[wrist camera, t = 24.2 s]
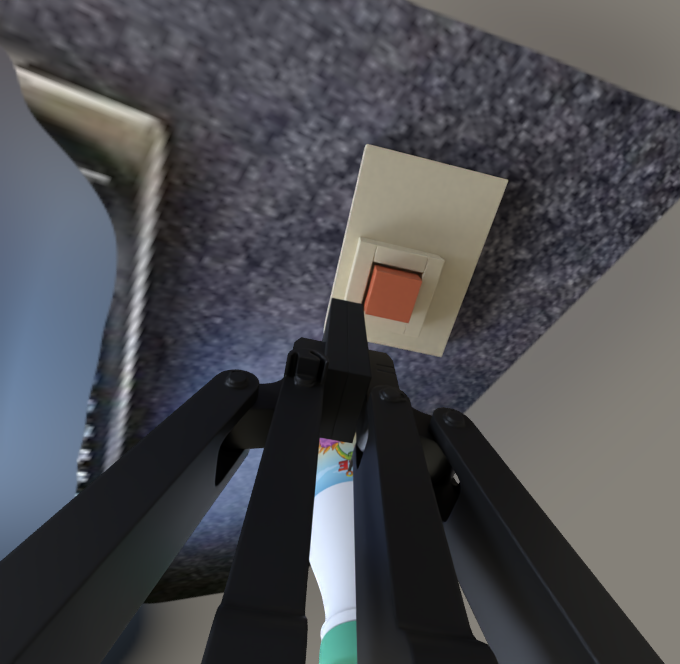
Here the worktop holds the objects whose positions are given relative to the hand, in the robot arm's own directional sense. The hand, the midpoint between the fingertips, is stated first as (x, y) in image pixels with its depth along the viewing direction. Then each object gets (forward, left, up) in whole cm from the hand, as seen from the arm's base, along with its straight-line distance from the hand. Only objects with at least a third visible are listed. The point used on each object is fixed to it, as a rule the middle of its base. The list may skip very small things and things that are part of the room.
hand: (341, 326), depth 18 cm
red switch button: (0, +4, -10) cm, 10 cm away
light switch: (-2, +5, -13) cm, 14 cm away
